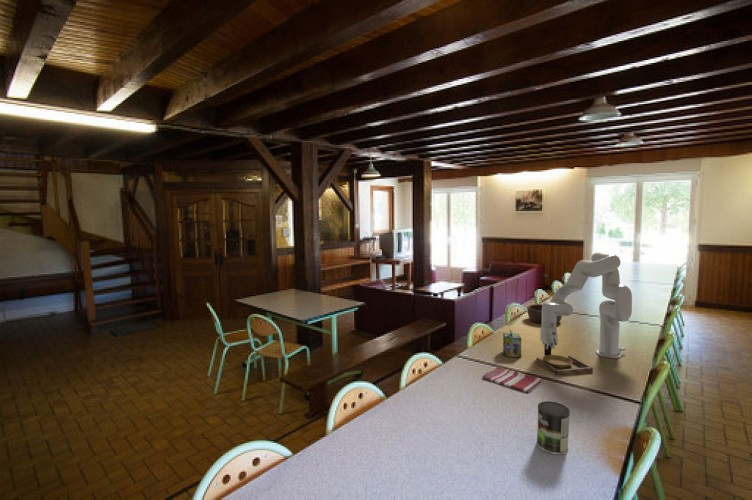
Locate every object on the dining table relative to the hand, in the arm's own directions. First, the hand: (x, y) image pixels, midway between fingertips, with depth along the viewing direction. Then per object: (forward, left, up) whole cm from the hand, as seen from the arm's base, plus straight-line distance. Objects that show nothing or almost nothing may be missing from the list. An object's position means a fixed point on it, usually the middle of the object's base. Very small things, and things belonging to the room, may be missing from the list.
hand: (547, 355), depth 219 cm
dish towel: (+35, +23, -2) cm, 42 cm away
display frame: (0, +13, -1) cm, 13 cm away
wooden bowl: (-43, -67, -2) cm, 80 cm away
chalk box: (+17, -9, -2) cm, 19 cm away
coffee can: (+49, +75, -2) cm, 89 cm away
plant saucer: (0, +9, -2) cm, 9 cm away
